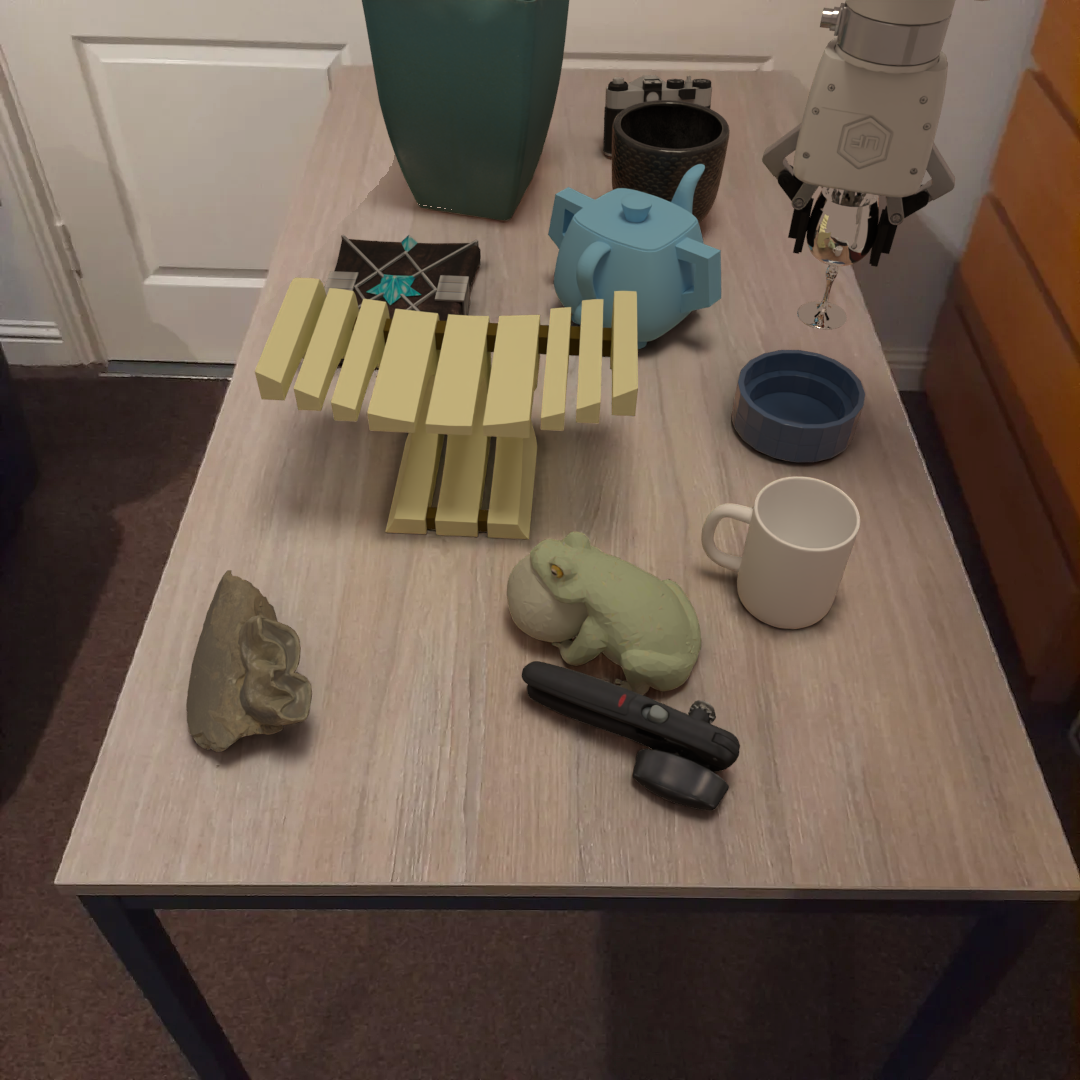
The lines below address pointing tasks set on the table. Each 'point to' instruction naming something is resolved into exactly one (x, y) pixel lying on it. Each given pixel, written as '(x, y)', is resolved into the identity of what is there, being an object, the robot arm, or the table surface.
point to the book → (408, 274)
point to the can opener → (645, 732)
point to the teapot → (635, 255)
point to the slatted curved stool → (450, 392)
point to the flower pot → (467, 95)
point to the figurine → (605, 612)
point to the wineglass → (838, 245)
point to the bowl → (797, 405)
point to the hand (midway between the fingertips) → (836, 250)
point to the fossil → (244, 670)
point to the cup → (789, 549)
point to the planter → (669, 150)
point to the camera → (650, 97)
